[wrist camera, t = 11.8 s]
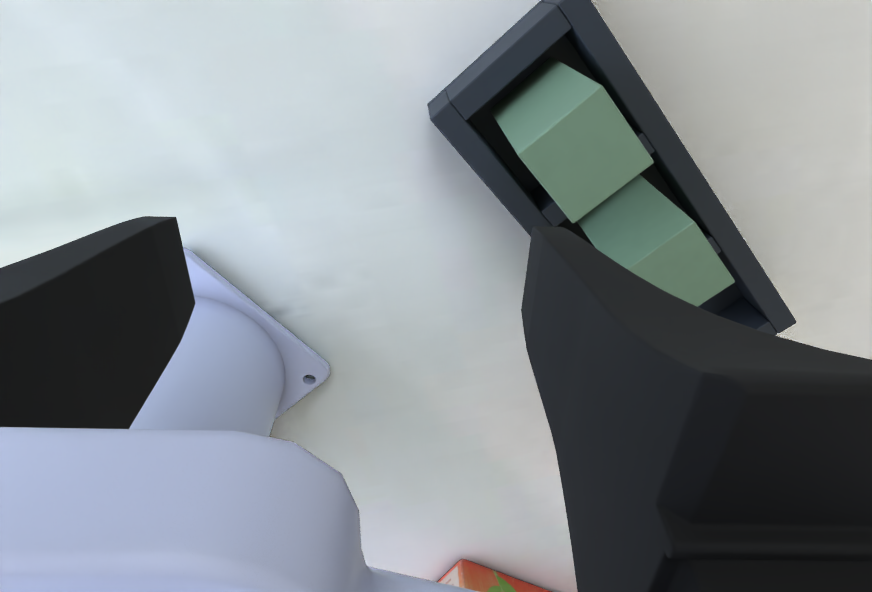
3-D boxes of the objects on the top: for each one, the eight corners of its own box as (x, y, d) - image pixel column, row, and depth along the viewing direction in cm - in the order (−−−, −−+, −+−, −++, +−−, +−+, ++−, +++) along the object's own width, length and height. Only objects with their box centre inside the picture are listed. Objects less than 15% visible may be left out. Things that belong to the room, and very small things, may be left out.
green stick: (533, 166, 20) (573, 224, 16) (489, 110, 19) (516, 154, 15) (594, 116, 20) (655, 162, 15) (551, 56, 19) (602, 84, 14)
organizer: (649, 366, 26) (670, 400, 24) (426, 104, 20) (429, 119, 18) (765, 293, 24) (797, 322, 22) (561, -18, 18) (580, -17, 16)
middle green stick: (605, 255, 22) (659, 331, 18) (568, 209, 21) (615, 276, 17) (662, 214, 22) (736, 282, 17) (627, 163, 21) (694, 221, 16)
